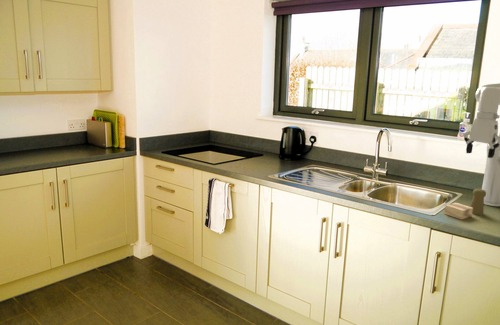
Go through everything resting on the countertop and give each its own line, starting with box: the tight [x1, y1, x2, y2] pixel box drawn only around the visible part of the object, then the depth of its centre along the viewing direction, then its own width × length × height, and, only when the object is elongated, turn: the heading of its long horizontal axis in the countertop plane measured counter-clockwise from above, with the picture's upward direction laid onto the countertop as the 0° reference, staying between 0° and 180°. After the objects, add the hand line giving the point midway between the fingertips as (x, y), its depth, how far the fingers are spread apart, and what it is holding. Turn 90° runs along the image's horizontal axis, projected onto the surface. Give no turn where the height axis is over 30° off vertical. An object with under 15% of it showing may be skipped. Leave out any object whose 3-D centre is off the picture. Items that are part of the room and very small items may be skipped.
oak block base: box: [443, 202, 473, 220], centre depth 186 cm, size 8×8×4 cm
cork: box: [469, 188, 486, 216], centre depth 190 cm, size 6×6×11 cm
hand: (479, 155), depth 186 cm, fingers open, 9 cm apart
